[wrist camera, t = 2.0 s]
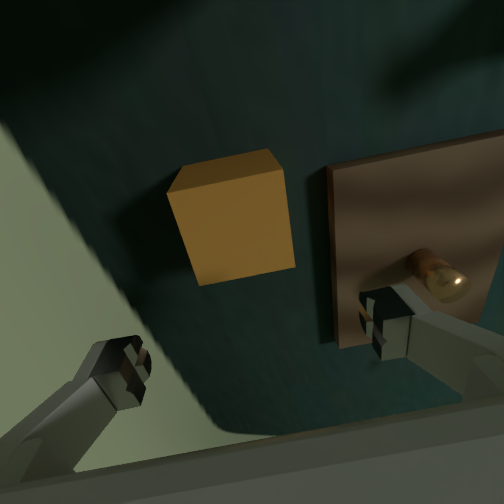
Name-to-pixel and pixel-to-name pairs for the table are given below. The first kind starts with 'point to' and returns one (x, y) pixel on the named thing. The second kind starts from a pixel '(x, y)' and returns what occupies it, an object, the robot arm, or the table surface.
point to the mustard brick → (233, 216)
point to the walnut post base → (417, 227)
